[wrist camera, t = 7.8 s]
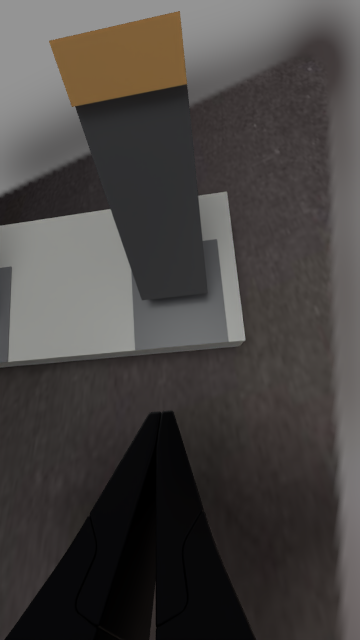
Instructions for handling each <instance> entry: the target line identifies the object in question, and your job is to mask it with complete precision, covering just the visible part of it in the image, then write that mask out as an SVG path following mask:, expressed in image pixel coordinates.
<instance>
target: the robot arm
mask: <svg viewBox="0 0 360 640" xmlns="http://www.w3.org/2000/svg"><path fill="white" fill-rule="evenodd" d="M155 581H156V627H157V628H156V640H256V638H255V636H254V634H253V631H252V629H251V627H250V625H249V622H248V620H247V618H246V615H245V613H244V611H243V609H242V606H241V604H240V602H239V599H238V597H237V595H236V593H235V590H234V588H233V586H232V584H231V581H230V579H229V577H228V574H227V572H226V570H225V567H224V565H223V562H222V560H221V557H220V555H219V553H218V550H217V548H216V545H215V542H214V539H213V536H212V533H211V530H210V527H209V524H208V521H207V518H206V515H205V512H204V509H203V505H202V502H201V499H200V496H199V492H198V489H197V486H196V483H195V480H194V476H193V473H192V470H191V467H190V463H189V460H188V457H187V454H186V451H185V447H184V444H183V441H182V438H181V434H180V431H179V428H178V425H177V422H176V418H175V415H174V412H173V411H163V412H162V413H161V412H151V413H149V414H148V416H147V418H146V419H145V421H144V423H143V424H142V426H141V428H140V430H139V431H138V433H137V435H136V436H135V438H134V440H133V441H132V443H131V445H130V446H129V448H128V450H127V452H126V453H125V455H124V457H123V458H122V460H121V462H120V463H119V465H118V467H117V468H116V470H115V472H114V474H113V475H112V477H111V479H110V480H109V482H108V484H107V485H106V487H105V489H104V490H103V492H102V494H101V496H100V497H99V499H98V501H97V502H96V504H95V506H94V507H93V509H92V511H91V512H90V516H88V517H87V519H86V521H85V522H84V524H83V526H82V528H81V529H80V531H79V533H78V534H77V536H76V537H75V539H74V541H73V542H72V544H71V545H70V547H69V549H68V550H67V552H66V553H65V555H64V556H63V558H62V559H61V561H60V562H59V563H58V565H57V566H56V568H55V569H54V571H53V572H52V574H51V575H50V577H49V578H48V579H47V581H46V582H45V584H44V585H43V586H42V588H41V589H40V591H39V592H38V594H37V595H36V596H35V598H34V599H33V601H32V602H31V603H30V605H29V606H28V608H27V609H26V611H25V612H24V613H23V615H22V616H21V618H20V619H19V620H18V622H17V623H16V625H15V626H14V628H13V629H12V630H11V632H10V633H9V634H8V636H7V637H6V638H5V640H149V637H150V628H151V618H152V609H153V600H154V590H155Z"/></svg>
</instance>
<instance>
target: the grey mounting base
mask: <svg viewBox="0 0 360 640" xmlns="http://www.w3.org/2000/svg"><path fill="white" fill-rule="evenodd" d="M198 200H199V210H200V220H201V230H202V240H203V250H204V260H205V270H206V280H207V290H208V293H204V294H195V295H186V296H177V297H168V298H159V299H150V300H142V299H141V296H140V294H139V291H138V288H137V285H136V282H135V279H134V276H133V273H132V270H131V267H130V264H129V262H128V259H127V256H126V253H125V250H124V247H123V244H122V241H121V238H120V235H119V232H118V230H117V227H116V224H115V221H114V218H113V215H112V212H111V209H109V210H102V211H95V212H89V213H82V214H76V215H69V216H62V217H56V218H49V219H43V220H36V221H29V222H23V223H16V224H10V225H3V226H0V368H1V367H13V366H24V365H35V364H46V363H58V362H69V361H80V360H91V359H103V358H114V357H125V356H137V355H148V354H159V353H170V352H182V351H193V350H204V349H215V348H227V347H238V346H240V345H241V344H242V343H243V342H244V341H245V333H244V325H243V317H242V309H241V301H240V293H239V285H238V277H237V269H236V261H235V253H234V245H233V237H232V229H231V221H230V213H229V205H228V197H227V192H221V193H214V194H208V195H201V196H198Z"/></svg>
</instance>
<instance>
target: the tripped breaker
mask: <svg viewBox="0 0 360 640" xmlns="http://www.w3.org/2000/svg"><path fill="white" fill-rule="evenodd" d="M49 43H50V45H51V48H52V51H53V54H54V57H55V60H56V62H57V65H58V68H59V71H60V74H61V76H62V80H63V82H64V85H65V88H66V91H67V94H68V97H69V99H70V102H71V105H72V107H74V106H75V107H76V110H77V113H78V116H79V119H80V122H81V125H82V128H83V131H84V133H85V136H86V139H87V142H88V145H89V148H90V151H91V154H92V157H93V160H94V163H95V165H96V168H97V171H98V174H99V177H100V180H101V183H102V186H103V189H104V192H105V195H106V198H107V200H108V203H109V206H110V209H111V212H112V215H113V218H114V221H115V224H116V227H117V230H118V232H119V235H120V238H121V241H122V244H123V247H124V250H125V253H126V256H127V259H128V262H129V264H130V267H131V270H132V273H133V276H134V279H135V282H136V285H137V288H138V291H139V294H140V296H141V299H142V300H150V299H159V298H168V297H177V296H186V295H195V294H204V293H208V290H207V280H206V270H205V260H204V250H203V240H202V230H201V220H200V210H199V200H198V190H197V180H196V169H195V159H194V149H193V139H192V129H191V119H190V109H189V99H188V90H187V79H186V69H185V59H184V49H183V39H182V29H181V19H180V11H178V12H174V13H169V14H165V15H161V16H157V17H152V18H147V19H143V20H139V21H134V22H130V23H126V24H121V25H117V26H113V27H108V28H104V29H99V30H95V31H90V32H86V33H82V34H78V35H73V36H69V37H64V38H60V39H55V40H51V41H49Z"/></svg>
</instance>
